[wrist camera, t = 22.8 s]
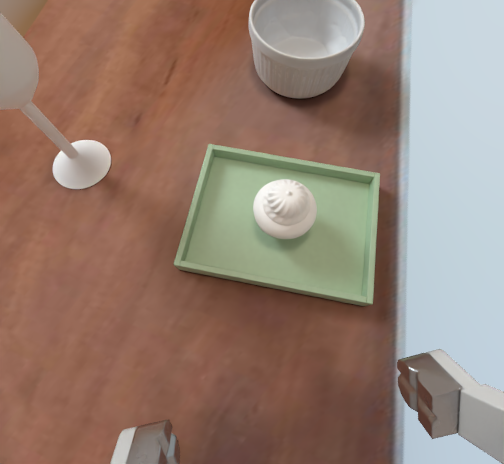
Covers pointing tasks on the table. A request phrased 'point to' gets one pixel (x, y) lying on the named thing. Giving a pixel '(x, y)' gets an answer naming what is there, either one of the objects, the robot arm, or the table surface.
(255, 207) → the muffin
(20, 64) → the champagne flute
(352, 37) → the ramekin
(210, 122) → the table surface
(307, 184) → the tray
